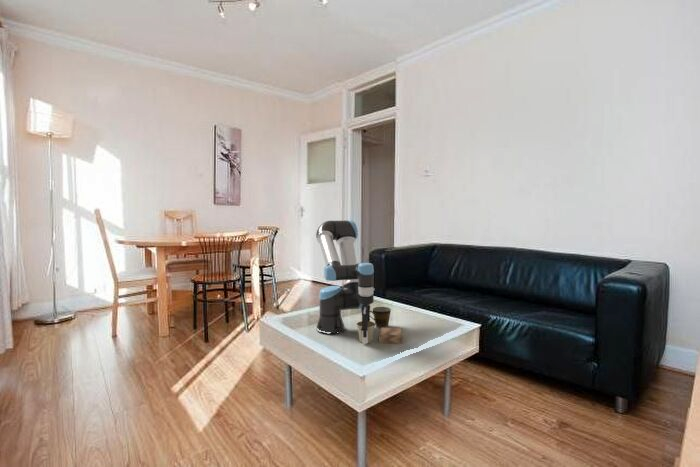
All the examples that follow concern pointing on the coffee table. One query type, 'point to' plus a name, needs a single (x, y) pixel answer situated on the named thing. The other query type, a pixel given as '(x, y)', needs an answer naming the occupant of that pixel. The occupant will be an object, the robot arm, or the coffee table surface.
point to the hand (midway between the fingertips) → (366, 339)
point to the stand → (390, 335)
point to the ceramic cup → (381, 316)
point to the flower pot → (370, 330)
